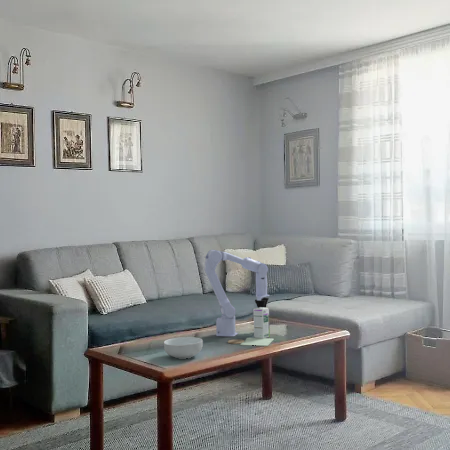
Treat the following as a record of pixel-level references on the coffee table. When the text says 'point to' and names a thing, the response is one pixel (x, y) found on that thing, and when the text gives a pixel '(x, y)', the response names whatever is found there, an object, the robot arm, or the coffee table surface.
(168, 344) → the cereal bowl
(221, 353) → the coffee table surface
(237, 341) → the cork coaster
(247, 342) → the mat
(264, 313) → the syrup box
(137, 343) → the coffee table surface
